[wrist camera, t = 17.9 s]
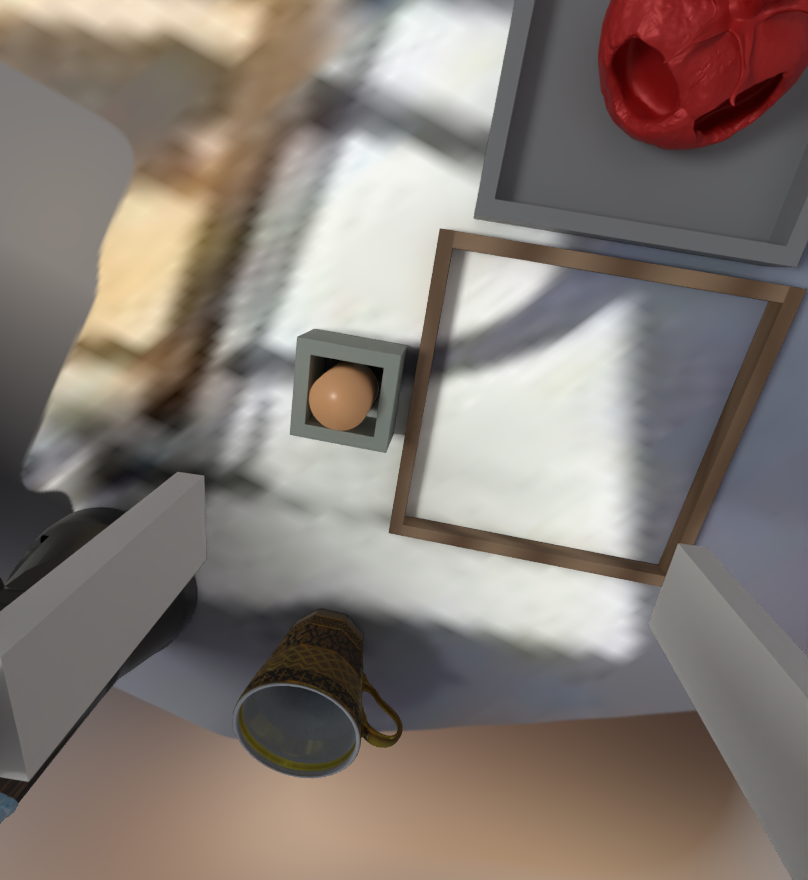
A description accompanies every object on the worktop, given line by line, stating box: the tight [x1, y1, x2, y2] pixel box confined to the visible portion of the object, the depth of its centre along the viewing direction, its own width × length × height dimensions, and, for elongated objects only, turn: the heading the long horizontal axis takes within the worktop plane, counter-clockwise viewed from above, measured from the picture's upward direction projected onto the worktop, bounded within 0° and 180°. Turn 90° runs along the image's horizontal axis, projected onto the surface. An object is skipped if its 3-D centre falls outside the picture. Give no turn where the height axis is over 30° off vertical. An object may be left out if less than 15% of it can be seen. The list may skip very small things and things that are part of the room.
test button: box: [309, 361, 378, 431], centre depth 34 cm, size 4×4×4 cm
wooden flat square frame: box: [389, 229, 807, 587], centre depth 35 cm, size 23×23×2 cm
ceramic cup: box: [233, 609, 402, 778], centre depth 41 cm, size 13×10×10 cm
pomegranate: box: [598, 0, 808, 150], centre depth 23 cm, size 10×10×9 cm
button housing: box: [290, 329, 407, 453], centre depth 35 cm, size 7×7×4 cm
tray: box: [474, 0, 808, 267], centre depth 27 cm, size 19×19×3 cm
